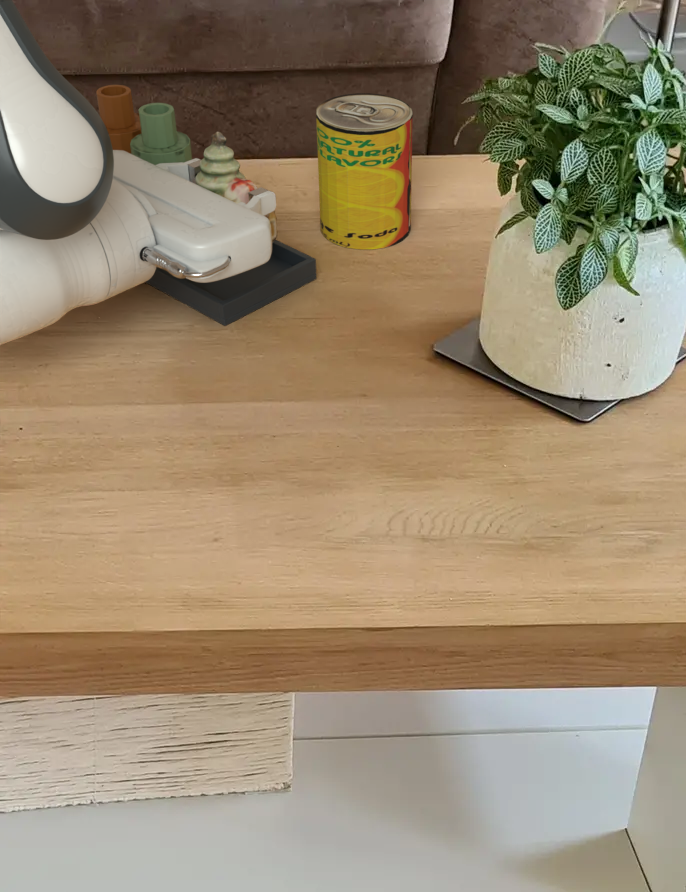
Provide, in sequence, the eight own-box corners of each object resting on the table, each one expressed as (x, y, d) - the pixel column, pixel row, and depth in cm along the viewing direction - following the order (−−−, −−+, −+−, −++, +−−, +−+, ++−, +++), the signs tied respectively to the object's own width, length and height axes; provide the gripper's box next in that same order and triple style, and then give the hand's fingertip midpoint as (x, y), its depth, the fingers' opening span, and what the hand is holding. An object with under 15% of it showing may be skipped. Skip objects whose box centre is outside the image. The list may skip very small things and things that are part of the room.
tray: (63, 237, 112) (59, 217, 111) (155, 199, 119) (153, 180, 118) (225, 326, 101) (222, 305, 100) (316, 278, 108) (316, 258, 107)
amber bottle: (95, 230, 114) (71, 90, 105) (138, 212, 117) (119, 75, 108) (129, 248, 111) (107, 106, 103) (172, 229, 114) (154, 90, 106)
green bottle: (134, 251, 111) (113, 109, 102) (177, 232, 114) (160, 93, 105) (170, 270, 108) (151, 126, 100) (212, 250, 111) (198, 109, 103)
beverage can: (392, 256, 112) (393, 137, 104) (305, 239, 114) (300, 122, 106) (422, 215, 118) (425, 101, 111) (340, 200, 120) (337, 87, 113)
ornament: (289, 241, 104) (283, 135, 98) (243, 268, 100) (233, 159, 94) (222, 217, 108) (212, 113, 102) (175, 242, 104) (162, 135, 98)
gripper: (187, 245, 86) (321, 186, 94) (24, 162, 96) (158, 115, 104) (195, 318, 89) (323, 255, 98) (37, 231, 100) (166, 180, 108)
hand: (236, 182), depth 101 cm, fingers closed on ornament, 7 cm apart
